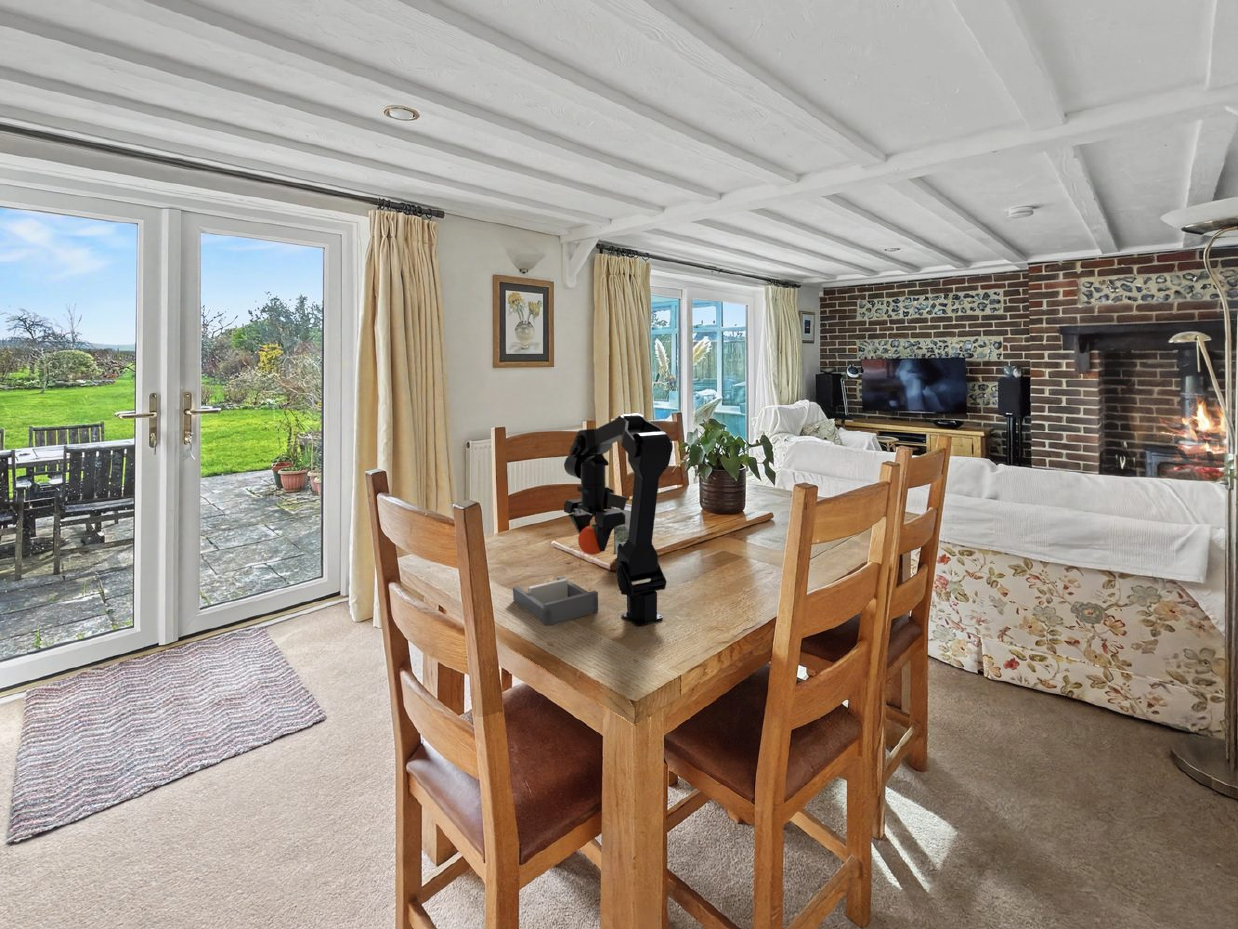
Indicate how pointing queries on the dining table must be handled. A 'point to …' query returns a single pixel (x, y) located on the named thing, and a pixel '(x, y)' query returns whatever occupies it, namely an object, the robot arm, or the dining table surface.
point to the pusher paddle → (549, 591)
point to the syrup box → (622, 529)
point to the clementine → (588, 541)
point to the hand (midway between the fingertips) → (594, 547)
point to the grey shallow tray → (559, 604)
